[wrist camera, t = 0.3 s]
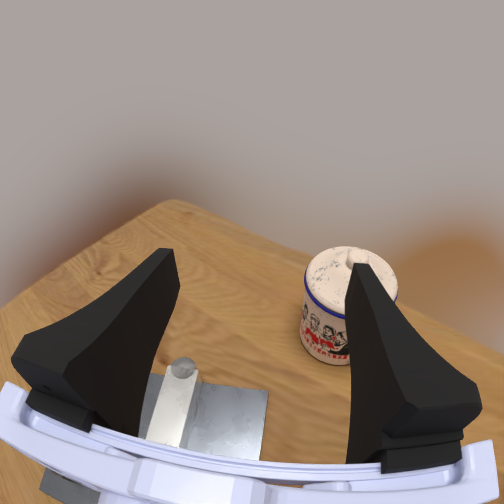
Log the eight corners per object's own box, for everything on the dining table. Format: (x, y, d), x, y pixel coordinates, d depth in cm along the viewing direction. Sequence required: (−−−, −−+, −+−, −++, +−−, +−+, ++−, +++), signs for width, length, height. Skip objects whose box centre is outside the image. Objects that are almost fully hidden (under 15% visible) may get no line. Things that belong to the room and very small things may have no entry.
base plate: (242, 557, 17) (242, 558, 16) (42, 490, 19) (39, 489, 19) (268, 393, 29) (268, 390, 29) (91, 360, 32) (89, 357, 31)
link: (182, 498, 21) (175, 496, 19) (135, 485, 21) (125, 481, 19) (211, 373, 31) (208, 360, 29) (170, 366, 31) (164, 353, 29)
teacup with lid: (279, 333, 35) (285, 254, 27) (331, 291, 39) (346, 213, 32) (364, 400, 28) (404, 335, 20) (408, 345, 32) (448, 272, 25)
